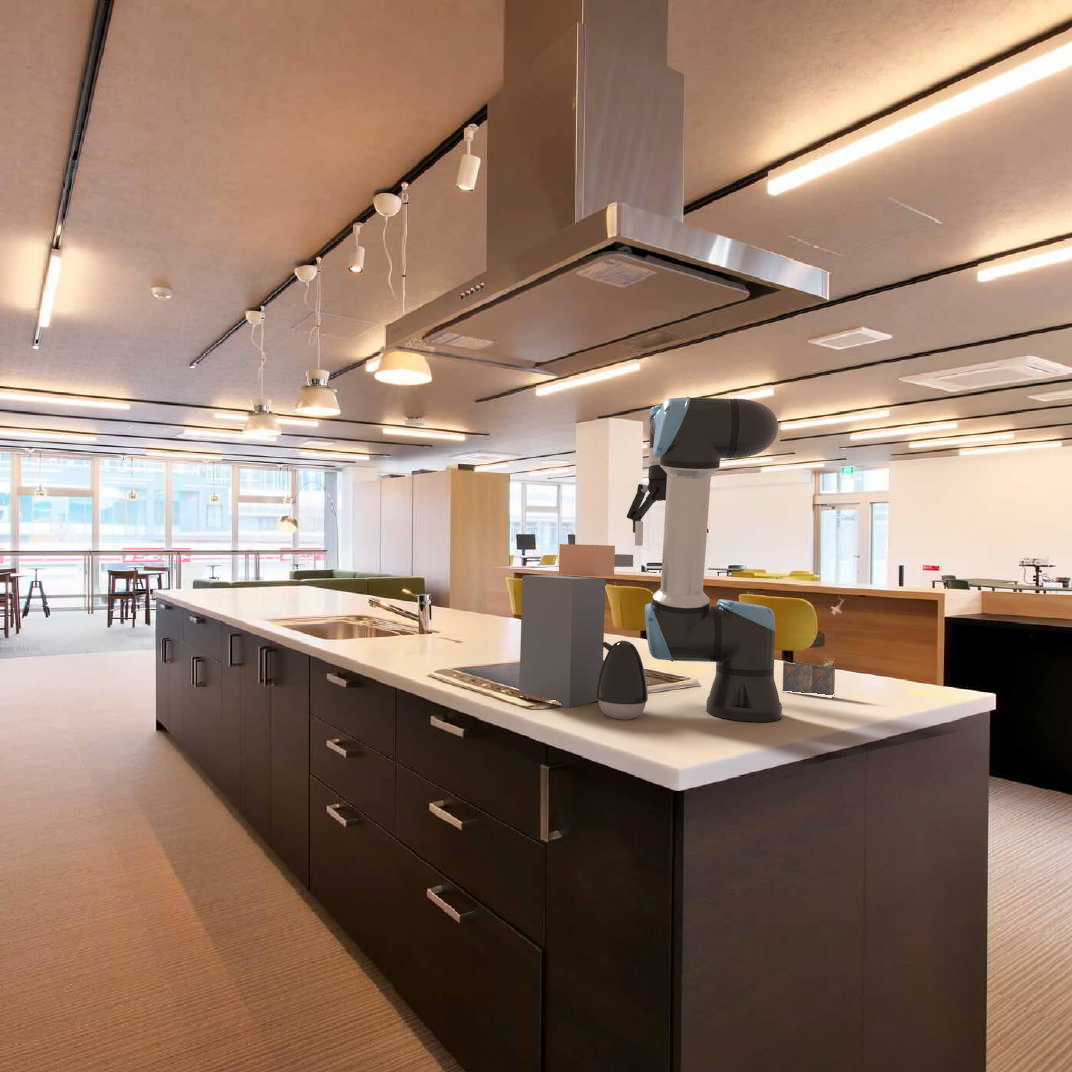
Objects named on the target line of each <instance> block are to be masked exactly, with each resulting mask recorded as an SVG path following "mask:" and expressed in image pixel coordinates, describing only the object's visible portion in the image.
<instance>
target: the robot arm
mask: <svg viewBox="0 0 1072 1072" xmlns="http://www.w3.org/2000/svg"><path fill="white" fill-rule="evenodd" d="M648 419H649V420H648V422H649V449H648V464H649V466H648V485H646V484H642V483H640V484H637V488H636V489H637V490H636V494H635V496H634V498H633V500H632V502H631V505H630V507H629V510H628V512H627V514H626V518H627V519H629V520H631V521H632V533H634V546H641V547H643V543H644V539H643V538H644V521H642V519H643V517H644V516H645V514H646V513H648V511H649V510H650V508H652V505H653V504H655V503H656V502H660V501H661V502H663V501H664V502H665V503H664V505H665V506H664V525H663V542H662V559H661V560H662V561H661V574H660V576H661V578H660V588H659V589H658V590H656V591H655V592H654V593H653V595H652V603H651V602H649V603H646V604H645V605H644V620H645V622H644V624H645V631H646V639H647V646H648V651H649V654H650V656H651V657H652V658H654V659H656V660H662V661H670V662H697V663H698V662H703V663H706V662H708V663H715V677H714V679H713V682H712V685H711V688H710V691H709V695H708V696H707V699H706V712H707V713H708V714H710V715H712V716H714V717H717V718H721V719H727V720H732V721H740V722H750V723H751V722H753V723H754V722H755V723H756V722H758V723H759V722H761V723H762V722H766V723H767V722H773V721H774V720H775V721H778V720H781V719H782V718H783V705H782V703H781V700H780V697H779V693H778V689H777V685H776V681H775V647H776V645H775V644H776V643H775V641H776V632H777V629H776V617H775V616H776V615H775V612H774V611H773V609H771V608H770V607H767V606H764V605H760V604H759V605H758V604H754V603H748V602H743V601H735V600H730V599H723V598H720V599H718V601H717V602H716V605H710V601H711V599H710V598H709V596H708V595H707V594H706V593H705V592H704V580H705V579H704V578H705V567H706V564H705V562H706V553H707V552H706V550H707V537H708V536H707V535H708V525H709V524H708V521H709V508H710V507H709V506H710V496H711V495H710V494H711V479H712V476H713V475H714V474H715V473H716V472H717V471H719V469H720V465H721V459H745V458H749V457H753V456H755V455H758V454H760V453H762V452H764V451H766V450H767V449H768V448H770V447H771V445H772V444H773V443H774V442H775V440H776V438H777V435H778V432H779V422H778V419H777V417H776V415H775V413H774V412H773V411H772V409H771V408H770V407H769V406H767V405H765V404H763V403H761V402H757V401H754V400H751V399H746V398H723V397H719V398H717V397H715V398H714V397H690V396H685V397H671V398H667V399H666V400H665V401H664V402H663V403H662V404H657V405H654V406H652V407H651V408H650V413H649V418H648ZM646 493H648V494H647V496H646ZM645 496H646V497H645ZM643 500H644V501H643ZM781 717H782V718H781Z"/></svg>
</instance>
